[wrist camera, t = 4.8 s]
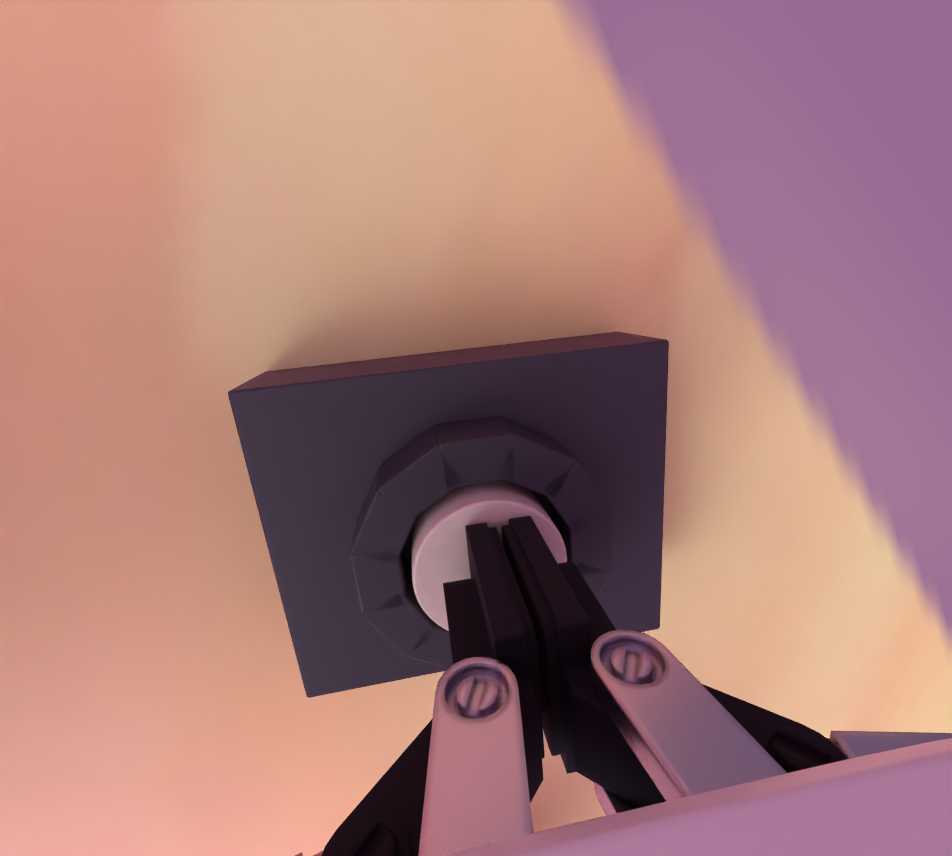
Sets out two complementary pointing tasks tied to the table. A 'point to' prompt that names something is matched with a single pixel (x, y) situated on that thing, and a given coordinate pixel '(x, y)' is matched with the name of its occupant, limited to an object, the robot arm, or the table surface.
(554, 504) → the black push button
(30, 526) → the table surface
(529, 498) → the pink short cylinder
